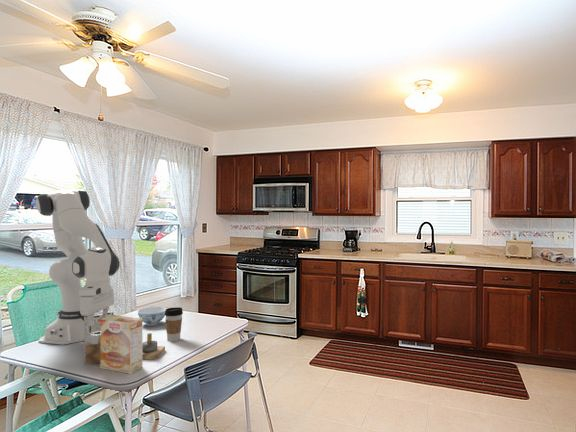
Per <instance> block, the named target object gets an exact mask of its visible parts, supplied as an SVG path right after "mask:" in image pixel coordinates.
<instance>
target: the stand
mask: <svg viewBox="0 0 576 432" xmlns="http://www.w3.org/2000/svg"><path fill="white" fill-rule="evenodd" d="M84 365H85V366H87V365H89V366H91V365H93V366H96V365H97V366H101V344H90V343H87V344H85V347H84Z"/></svg>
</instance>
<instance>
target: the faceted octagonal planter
mask: <svg viewBox="0 0 576 432" xmlns="http://www.w3.org/2000/svg"><path fill="white" fill-rule="evenodd" d="M89 343H90V344H101V331H95V332H92V333H90V334H89Z"/></svg>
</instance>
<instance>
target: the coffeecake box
mask: <svg viewBox="0 0 576 432" xmlns="http://www.w3.org/2000/svg"><path fill="white" fill-rule="evenodd" d="M142 343H143V321H142V319H141V318H139V317H133V316H131V317H130V316H125V315H118V314H117V315H116V314H113V315H112V316H108V317H105V318H102V319H101V365H100V367H99V369H104V370H108V371H114V372H119V373H123V374H124V373H125V374H129V375H131V374H133V373H134V372H136V371H138V370H140V369H142V368H143V359H142Z"/></svg>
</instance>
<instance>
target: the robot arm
mask: <svg viewBox="0 0 576 432" xmlns="http://www.w3.org/2000/svg"><path fill="white" fill-rule="evenodd" d="M90 198H91V197H90V195H89V193H88V191H86V190H85V189H80V188H79V189H64V190H57V191H51V192H49V193H48V192H47V193H46V192H45V193H44V192H43V193H41V194H39V195H37V198H36V201H35V208H36V209H37V211H38V212H39V214H41V215H42V216H46V217H47V216H48V217H51V216H52V220H51V221H52V229H53V235H54V239H55V245H56V247H57V249H58V251H60V252H62V253H64V255H66V257H67V258H65V259H61V260H58V261H56V262H53V263H52V264H51V265H50V267H49V269H48V270H49V271H48V273H49V277H50V279H51V280H52V281H53V282H54V283H55V284H57V286H58V288H59V290H60V293H61V302H62V303H61V304H62V306H61V307H62V308H61V309H60V310H59V311H58V312H57V313H56V316H58V318H56V320H55V319H54V321H52V322H51V323H50V324H49V325H47V326H46V328H45V329H44V330H45V331H44V335H43V336H41V337H39V339H38V343H41V344H42V343H43V344H52V345H53V344H54V345H55V344H56V345H63V346H64V345H68V344H71V343H73V344H74V343H78V342H82V341H84V316H87V318H88V320H89V325H94V324H95V323H96V322H95V321H96V320H94V317H93V316H94V314H96V313H100V312H103V314H102V318H105V317H107V313H108V311H110V306H113V305H114V304H115V303H114V302H115V296H114V295H115V294H114V290H113V288H112V286H111V280H110V279H111V278H110V276H111V277H112V276H114V275H115V274H116V273H117V272H118V271H119V269H120V265H121V264H120V259H119V257H118V255H116V253H115V252H114V251H113V249H112V248H111V246H110V244H109V242H108V240H107V238H106V236H105V234H104V233H103V231H102V229H101V228H100V226H99V224H97V223H95V222H94V221H93V220H91V219H90V218H89V216H88V215H87V212H86V211H87V210H88V208H90V204H91V199H90ZM83 238H85V239H88V240H90V241H91V242H92V243H93V245H94V247H90V248H88V249H87V247H86V245H85V244H84V240H83ZM81 280H85V284H84V286H83V285H82V282H81Z"/></svg>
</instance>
